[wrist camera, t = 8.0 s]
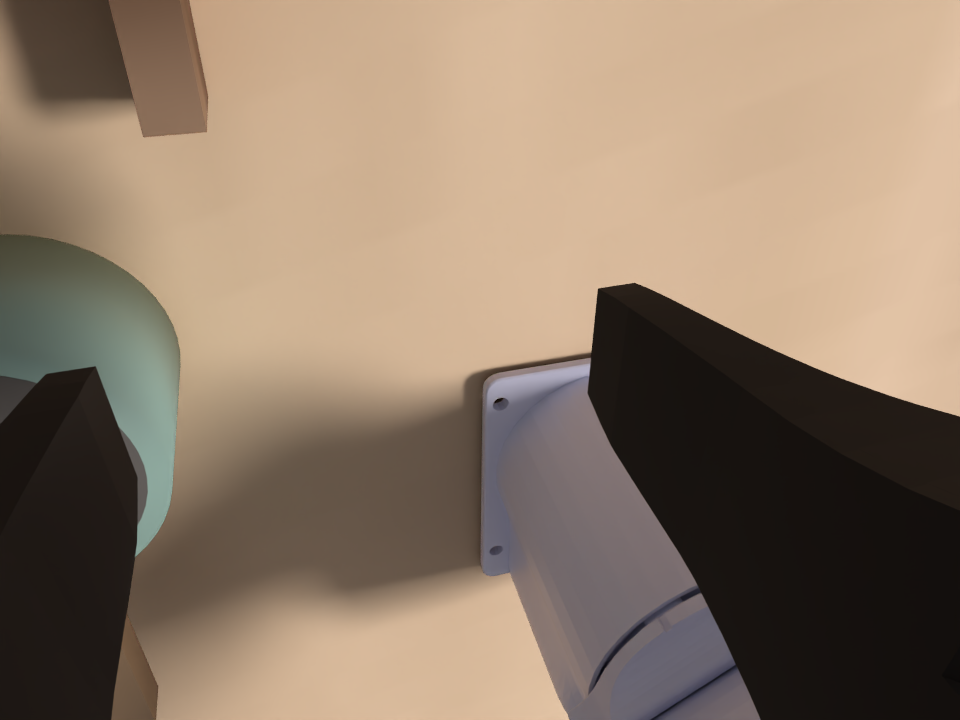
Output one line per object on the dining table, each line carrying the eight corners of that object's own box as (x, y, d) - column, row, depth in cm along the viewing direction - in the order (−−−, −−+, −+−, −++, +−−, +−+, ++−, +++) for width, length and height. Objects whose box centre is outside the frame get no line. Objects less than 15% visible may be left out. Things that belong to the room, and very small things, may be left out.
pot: (-190, 252, 17) (-315, 386, 13) (145, 217, 18) (125, 327, 14) (26, 632, 25) (-10, 785, 21) (245, 585, 27) (250, 719, 23)
